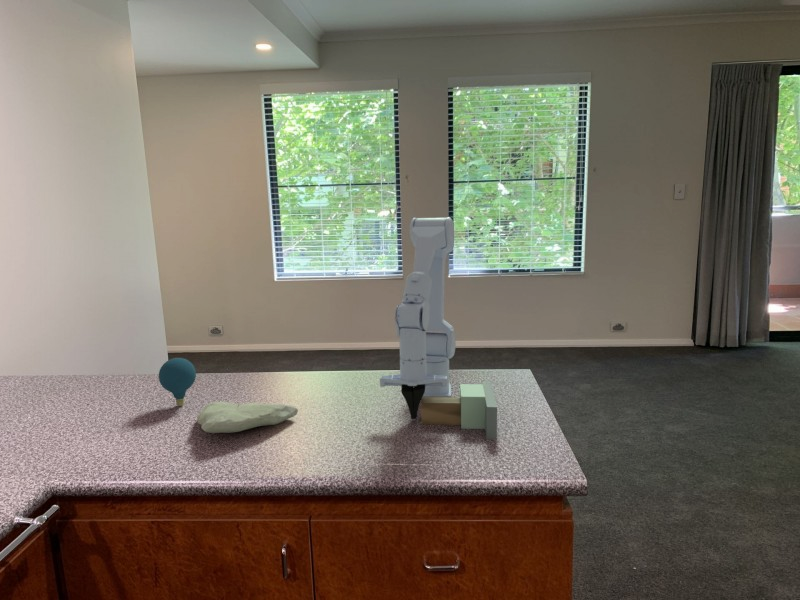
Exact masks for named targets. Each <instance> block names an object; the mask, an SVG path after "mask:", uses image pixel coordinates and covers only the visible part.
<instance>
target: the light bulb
mask: <svg viewBox="0 0 800 600" xmlns="http://www.w3.org/2000/svg"><path fill="white" fill-rule="evenodd" d="M196 377H197V371H196V368H195V366H194V364H193V363H192V362H191V361H190V360H188V359H186V358H183V357H174V358H171V359H168V360H167V361H165V362H164V363H163V364H162V365H161V367H160V368H159V371H158V382H159V383H160V385H161V387H163V389H165V390H166V391H168V392H170V393H171V394H172V395H173V398H175V403H176V405H177V406H179V407H181V406H183V405H184V404H185V397H186V392H187V391H188V390H189V389H190V388H191V387H192V386H193V384H194V382H196Z"/></svg>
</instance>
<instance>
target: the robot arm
mask: <svg viewBox="0 0 800 600" xmlns="http://www.w3.org/2000/svg"><path fill="white" fill-rule="evenodd" d="M409 238H410V241H411V243H412V246H413V247H414V248H415V249H414V256H413V257H414V258H413V259H414V260H413V267H412V272H411V273H409V274H408V275H407V276H406V279H405V284H404V289H403V295H402V298H401V303H400V304H397V305H396V308H395V312H394V324H395V325H394V326H395V327H396V336H397V338H399V339H398V341H399V343H398V344H399V368H400V369H399V371H400V372H399V373H397V374H391V375H390V374H389V375H380V376H379V377H380V378H379V387H380V388H382V387H383V388H384V387H386V386H387V387H392V386H393V387H401V391H400V392H401V394H402V397H403V398H404V400H405V402H406V404H407V406H408V410H409V413H410V419H411V420H416V419H418V410H419V405H421V400H422V397H452V388H451V387H452V384H451V383H450V359H452V358H453V357H454V355H455V352H456V344H457V342H456V337H455V336H456V335H455V333H456V330H455V329H454V328H455V327H454V326H453V325H451V324H450V323H449V322H448V321H446V320H445V317H444V316H445V290H446V289H445V288H446V287H445V285H446V284H445V282H446V279H445V278H446V277H445V276H446V261H447V255H448V254H449V253H451V252H453V251H454V245H455V225H454V220H453V219H452V217H450V216H448V217H413V218H412V219H411V221H410V224H409Z"/></svg>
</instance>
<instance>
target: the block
mask: <svg viewBox="0 0 800 600" xmlns="http://www.w3.org/2000/svg"><path fill="white" fill-rule="evenodd" d="M459 398H461V425H460V427H461V428H460V429H463V430H465V429H467V430H473V429H474V430H475V429H476V430H485V393H484V388H483V384H482V383H481V384H480V383H479V384H478V383H476V384H475V383H474V384H473V383H472V384H471V383H464V384H463V383H460V384H459Z"/></svg>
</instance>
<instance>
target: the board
mask: <svg viewBox="0 0 800 600" xmlns="http://www.w3.org/2000/svg"><path fill="white" fill-rule="evenodd" d="M481 384H483V388H484V393H485V429H484V431H485V436H486V440H498V405H497V402H496V396H495V393H494V390H493V385H492V381H489V380H487V381H484V380H482V381H481Z"/></svg>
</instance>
